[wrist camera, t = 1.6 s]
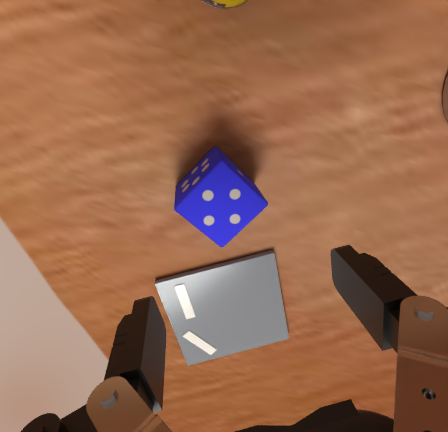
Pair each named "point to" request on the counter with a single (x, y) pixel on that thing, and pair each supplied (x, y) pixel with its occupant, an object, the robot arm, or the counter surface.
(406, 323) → the robot arm
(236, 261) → the tile
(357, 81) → the counter surface
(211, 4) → the supplement bottle
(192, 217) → the die
